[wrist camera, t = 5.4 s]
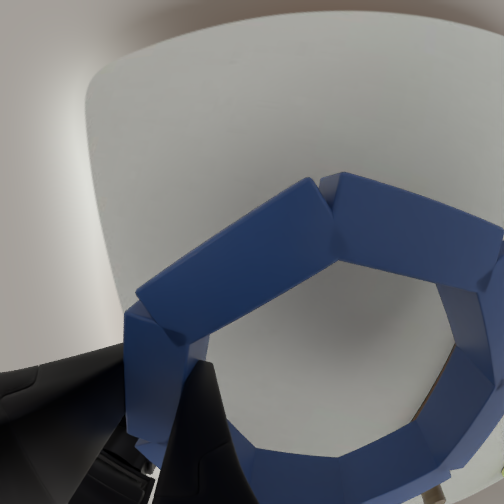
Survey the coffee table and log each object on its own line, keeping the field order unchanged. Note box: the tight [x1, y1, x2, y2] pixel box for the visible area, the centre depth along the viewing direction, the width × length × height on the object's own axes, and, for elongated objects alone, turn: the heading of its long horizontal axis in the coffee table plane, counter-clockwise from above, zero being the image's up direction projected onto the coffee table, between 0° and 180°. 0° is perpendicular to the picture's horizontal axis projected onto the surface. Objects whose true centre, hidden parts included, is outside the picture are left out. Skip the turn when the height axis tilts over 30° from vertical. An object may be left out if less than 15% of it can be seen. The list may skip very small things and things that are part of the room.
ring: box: [123, 172, 504, 504], centre depth 8 cm, size 12×12×3 cm
